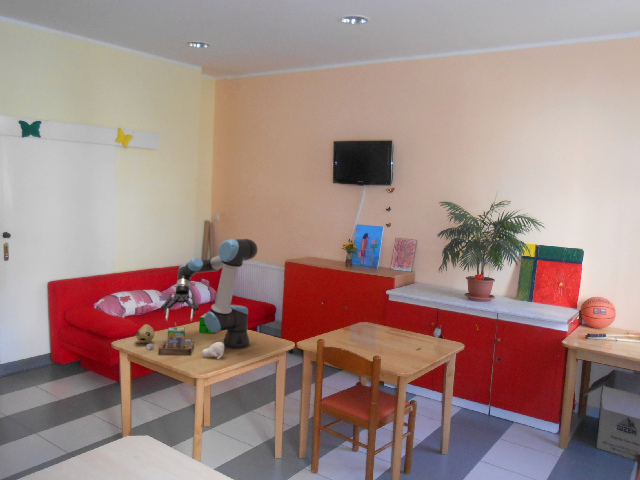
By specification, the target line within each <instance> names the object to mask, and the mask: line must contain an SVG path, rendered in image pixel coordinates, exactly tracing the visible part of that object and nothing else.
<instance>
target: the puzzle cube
mask: <svg viewBox="0 0 640 480" xmlns="http://www.w3.org/2000/svg"><path fill="white" fill-rule="evenodd" d="M205 314H206V313H204V314H203V315H201V316H200V317H199V327H198V328H199V331H198V333H201V334H213V335H216V333H217V332H211V331H209V330H208V328H207V327H206V325H205V321H204V317H205Z"/></svg>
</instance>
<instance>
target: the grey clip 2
mask: <svg viewBox="0 0 640 480" xmlns="http://www.w3.org/2000/svg"><path fill="white" fill-rule="evenodd" d="M191 342H192V339H191V338H185V346H190V344H191Z"/></svg>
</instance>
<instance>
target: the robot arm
mask: <svg viewBox="0 0 640 480" xmlns="http://www.w3.org/2000/svg"><path fill="white" fill-rule="evenodd" d="M257 254H258V246H257V243H256V242H255V241H253V240H252V239H250V238H241V239H239V238H237V239H233V238H230V239H225V240H224V241H223V242H222V243H220V245H219V247H218V255H216V256H214V257H211V258H207V259H201V258H200V257H193V258H191V259H190V260H188V262H187V263H186V264H185V263H183V264H181V265H180V266H179V267H178V270H177V280H176V288H175V294H172V293H170V294H169V296H168V298H167V299H166V300H165V302H164V303H163V304H162V306H161V309H162V310H164V315H165V321H166V322H168V320H169V319H168V318H169V314H170V313H169V312H170V309H171V308H172V307H173V306H174V305H175V304H177V303H179V304H180V303H182V304H183V303H186V304H187V305H188V307H190V309H191V311H190V312H191V313H190V322H193V317H194V316H195V315H196V311H199V307H200V306H199V305H198V303H197V301H196V299H195V295H194V294H191V295H190V286H191V285H190V284H191V279H192V277H193V276H194V275H195V274H198V273H199V274H200V273H201V274H202V273H209V272H212V273H214V272H218V271H219V270H220V269H221V273H220V276H219V277H220V278H219V282H218V283H219V284H218V288H217V292H216V296H215V300H214V303H213V304H212V305H211V307H210V310H209V311H207V312H206V313H204V314H205V317H204V321H205V325H206V327H207V328H208V330H209V331H211V332H216V333H219V332H222V331H226V333H225V335H224V338H223V342H222V343H223V344H224V347H226V348H230V349H243V348H248V347H249V346H250V345H251V344H250V343H251V342H250V338H249V334H248V321H249V319H248V318H249V309H248V307H246V306H245V305H244V306H243V305H238V304H232V299H233V293H234V289H235V287H236V283H237V282H236V281H237V277H238V273H239V268H241V267H242V266H243V263H244V262H246V261H248V260H251V259H254V258H255V257H256V256H257ZM189 299H190V300H192V301H190V300H189Z"/></svg>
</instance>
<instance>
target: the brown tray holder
mask: <svg viewBox="0 0 640 480" xmlns="http://www.w3.org/2000/svg"><path fill="white" fill-rule="evenodd" d="M194 348H195V341H191V344H190V345H185V348H168V344H167V341H166V340H163V341H162V343H161V344H160V346H159V347H158V350H157V353H158V354H157V355H158V356H192V353H193V351H194Z"/></svg>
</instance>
